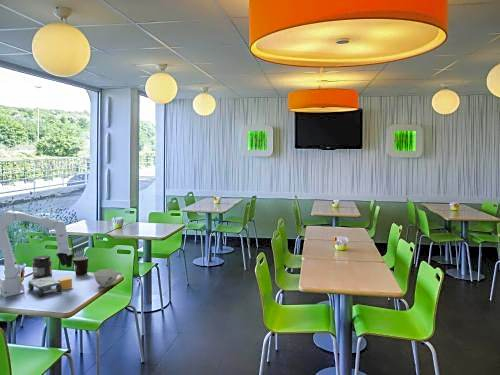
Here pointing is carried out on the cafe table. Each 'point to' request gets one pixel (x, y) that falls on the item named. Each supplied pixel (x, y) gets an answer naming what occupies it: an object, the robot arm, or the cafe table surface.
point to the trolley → (45, 285)
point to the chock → (66, 283)
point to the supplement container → (42, 267)
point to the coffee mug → (81, 265)
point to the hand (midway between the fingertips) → (66, 266)
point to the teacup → (106, 277)
